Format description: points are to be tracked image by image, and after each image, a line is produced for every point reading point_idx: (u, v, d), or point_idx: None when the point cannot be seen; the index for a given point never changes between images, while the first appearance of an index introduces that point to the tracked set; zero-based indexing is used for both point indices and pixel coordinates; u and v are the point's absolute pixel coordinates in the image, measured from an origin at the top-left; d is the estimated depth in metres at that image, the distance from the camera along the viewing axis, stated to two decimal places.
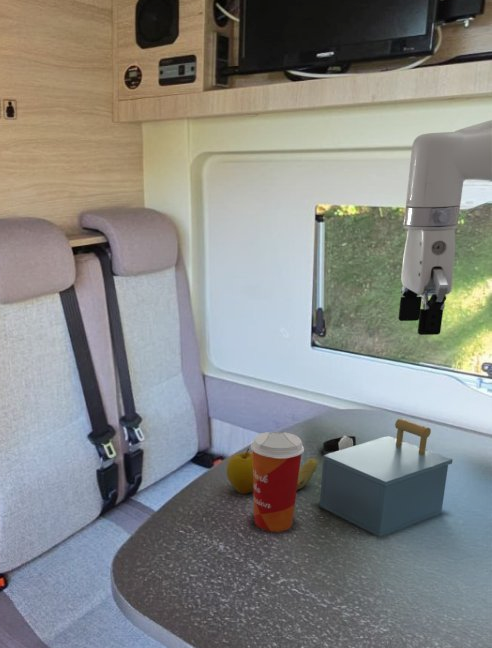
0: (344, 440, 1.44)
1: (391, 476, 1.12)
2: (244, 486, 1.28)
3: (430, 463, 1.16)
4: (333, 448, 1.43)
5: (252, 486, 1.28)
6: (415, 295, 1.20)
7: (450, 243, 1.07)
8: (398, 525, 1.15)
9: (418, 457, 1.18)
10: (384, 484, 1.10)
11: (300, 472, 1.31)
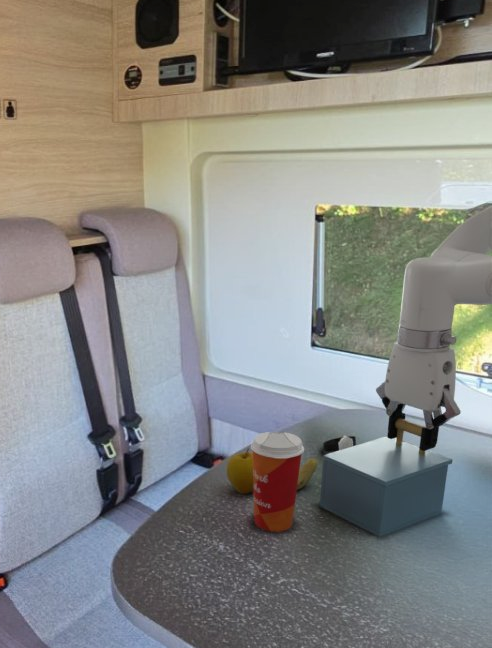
0: (344, 440, 1.44)
1: (391, 476, 1.12)
2: (244, 486, 1.28)
3: (430, 463, 1.16)
4: (333, 448, 1.43)
5: (252, 486, 1.28)
6: (401, 413, 1.22)
7: (454, 361, 1.12)
8: (398, 525, 1.15)
9: (418, 457, 1.18)
10: (384, 484, 1.10)
11: (300, 472, 1.31)
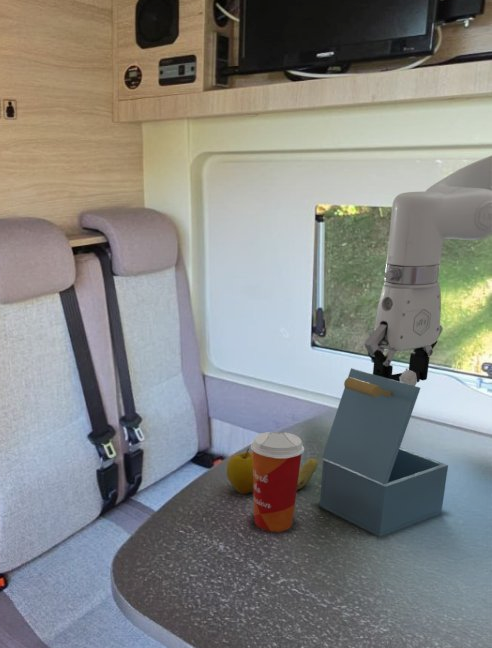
0: (407, 374, 1.15)
1: (383, 467, 1.10)
2: (244, 486, 1.28)
3: (402, 411, 1.09)
4: None
5: (252, 486, 1.28)
6: (422, 354, 1.17)
7: (397, 301, 1.10)
8: (398, 525, 1.15)
9: (390, 405, 1.11)
10: (384, 483, 1.10)
11: (300, 472, 1.31)
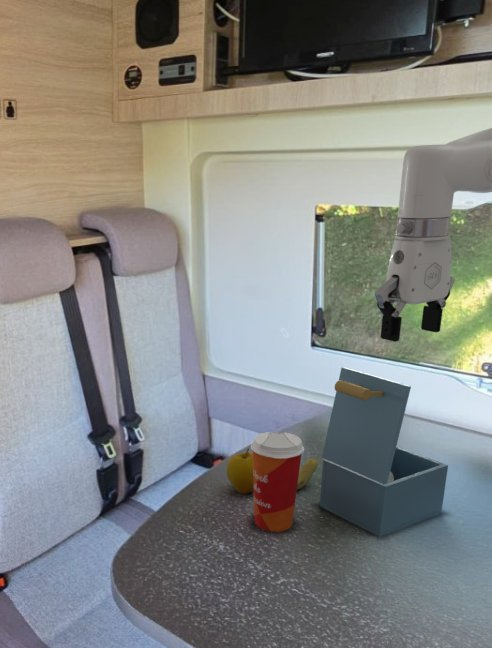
0: None
1: (382, 468, 1.10)
2: (244, 486, 1.28)
3: (395, 411, 1.08)
4: None
5: (252, 486, 1.28)
6: (435, 306, 1.19)
7: (408, 253, 1.11)
8: (398, 525, 1.15)
9: (382, 404, 1.10)
10: (385, 483, 1.10)
11: (300, 472, 1.31)
